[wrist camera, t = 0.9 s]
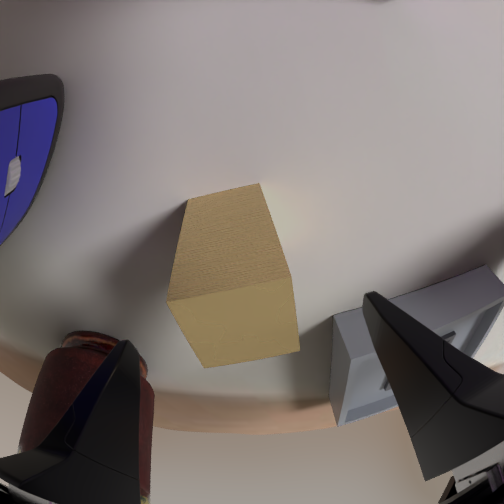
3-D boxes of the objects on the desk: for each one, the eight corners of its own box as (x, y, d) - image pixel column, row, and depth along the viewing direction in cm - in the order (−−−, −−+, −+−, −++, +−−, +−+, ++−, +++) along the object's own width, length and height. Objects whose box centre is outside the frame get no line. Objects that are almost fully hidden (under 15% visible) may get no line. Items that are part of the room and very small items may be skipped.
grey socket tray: (485, 264, 21) (510, 292, 18) (445, 353, 30) (459, 377, 27) (333, 315, 22) (351, 359, 18) (328, 396, 31) (337, 426, 27)
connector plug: (259, 183, 15) (291, 276, 8) (270, 243, 17) (300, 350, 11) (188, 199, 15) (166, 302, 9) (207, 257, 17) (204, 368, 11)
